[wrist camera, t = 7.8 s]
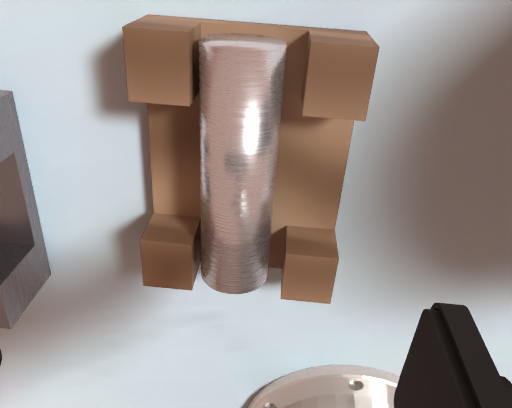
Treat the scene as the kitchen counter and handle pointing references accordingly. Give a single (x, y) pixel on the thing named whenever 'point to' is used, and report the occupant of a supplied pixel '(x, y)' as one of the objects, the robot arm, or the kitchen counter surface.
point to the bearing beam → (289, 146)
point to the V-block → (17, 222)
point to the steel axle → (238, 155)
